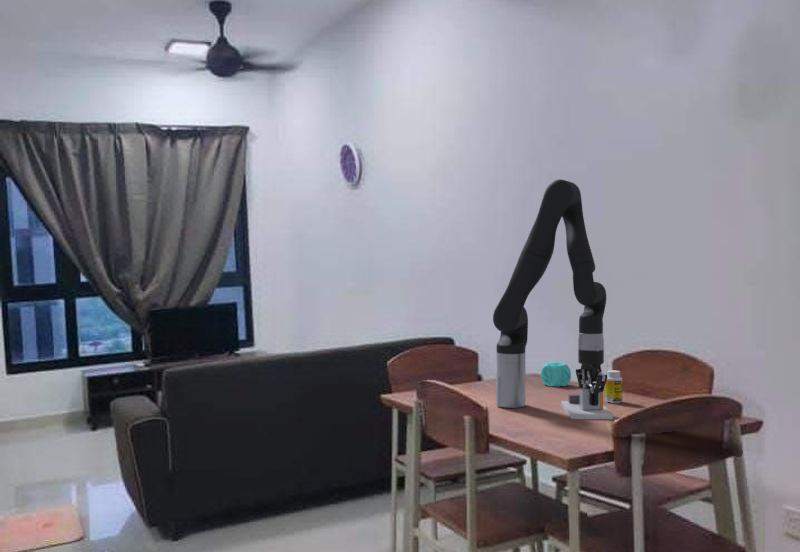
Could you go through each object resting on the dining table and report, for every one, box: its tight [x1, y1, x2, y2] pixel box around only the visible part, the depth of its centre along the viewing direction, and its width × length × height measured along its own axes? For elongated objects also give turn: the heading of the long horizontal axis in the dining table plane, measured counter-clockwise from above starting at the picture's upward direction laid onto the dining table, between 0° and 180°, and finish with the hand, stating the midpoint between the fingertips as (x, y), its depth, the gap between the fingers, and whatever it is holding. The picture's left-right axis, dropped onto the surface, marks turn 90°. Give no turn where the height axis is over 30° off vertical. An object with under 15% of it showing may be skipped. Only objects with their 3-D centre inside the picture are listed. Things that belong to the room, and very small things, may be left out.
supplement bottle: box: [604, 369, 623, 404], centre depth 245 cm, size 6×6×10 cm
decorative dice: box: [540, 362, 572, 388], centre depth 278 cm, size 8×8×8 cm
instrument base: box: [560, 394, 614, 420], centre depth 230 cm, size 12×20×5 cm, turn 177°
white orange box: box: [579, 387, 604, 410], centre depth 226 cm, size 6×3×6 cm, turn 101°
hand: (591, 404), depth 226 cm, fingers closed on white orange box, 3 cm apart
